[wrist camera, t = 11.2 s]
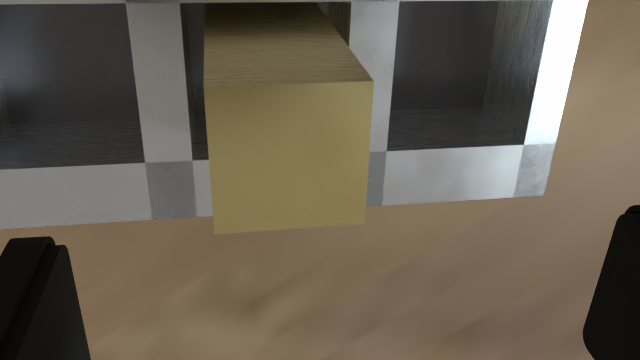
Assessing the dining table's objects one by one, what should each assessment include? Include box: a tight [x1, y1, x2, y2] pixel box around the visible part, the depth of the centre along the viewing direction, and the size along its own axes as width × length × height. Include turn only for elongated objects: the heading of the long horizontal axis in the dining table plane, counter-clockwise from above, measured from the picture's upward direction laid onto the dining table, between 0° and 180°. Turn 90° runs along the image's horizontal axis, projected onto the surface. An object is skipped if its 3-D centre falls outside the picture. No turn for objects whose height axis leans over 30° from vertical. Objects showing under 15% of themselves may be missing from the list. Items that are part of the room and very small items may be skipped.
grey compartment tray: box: [0, 0, 588, 229], centre depth 22 cm, size 10×22×4 cm, turn 88°
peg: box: [204, 2, 374, 234], centre depth 19 cm, size 4×4×10 cm
